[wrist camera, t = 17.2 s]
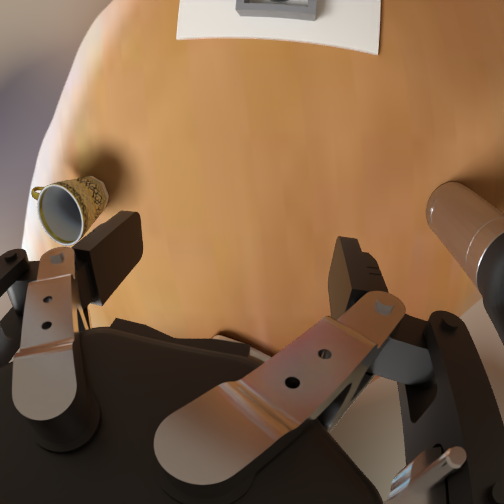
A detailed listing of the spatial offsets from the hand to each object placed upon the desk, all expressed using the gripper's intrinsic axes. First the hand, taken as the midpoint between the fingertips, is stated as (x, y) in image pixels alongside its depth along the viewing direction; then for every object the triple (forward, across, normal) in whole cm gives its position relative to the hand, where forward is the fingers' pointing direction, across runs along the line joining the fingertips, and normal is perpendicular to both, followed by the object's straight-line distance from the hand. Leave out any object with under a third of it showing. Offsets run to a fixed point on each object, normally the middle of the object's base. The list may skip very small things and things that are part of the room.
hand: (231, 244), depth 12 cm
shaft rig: (+32, +2, -22) cm, 39 cm away
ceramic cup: (+32, +32, +10) cm, 47 cm away
